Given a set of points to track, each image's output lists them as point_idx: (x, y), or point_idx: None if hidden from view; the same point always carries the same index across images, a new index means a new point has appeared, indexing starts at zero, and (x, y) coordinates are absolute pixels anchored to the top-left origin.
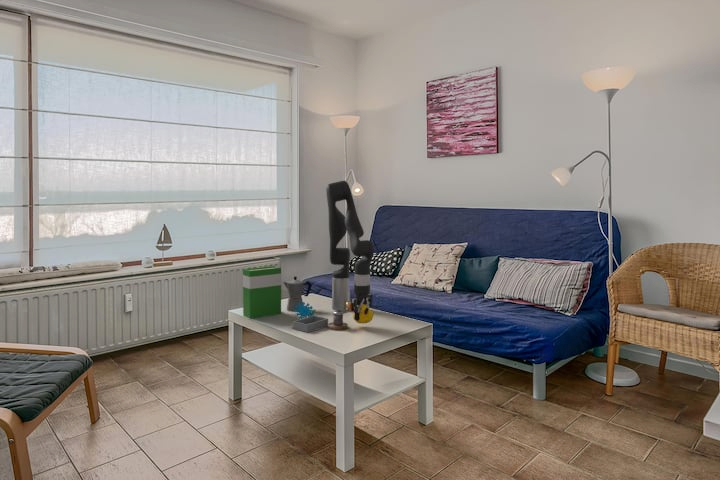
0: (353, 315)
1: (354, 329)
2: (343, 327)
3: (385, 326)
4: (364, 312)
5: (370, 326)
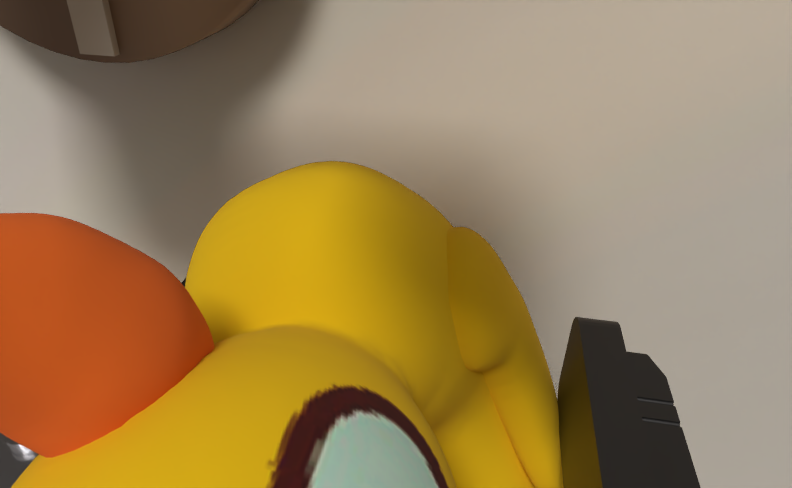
0: (200, 237)
1: (261, 179)
2: (63, 46)
3: (705, 460)
4: (582, 403)
5: (584, 300)
